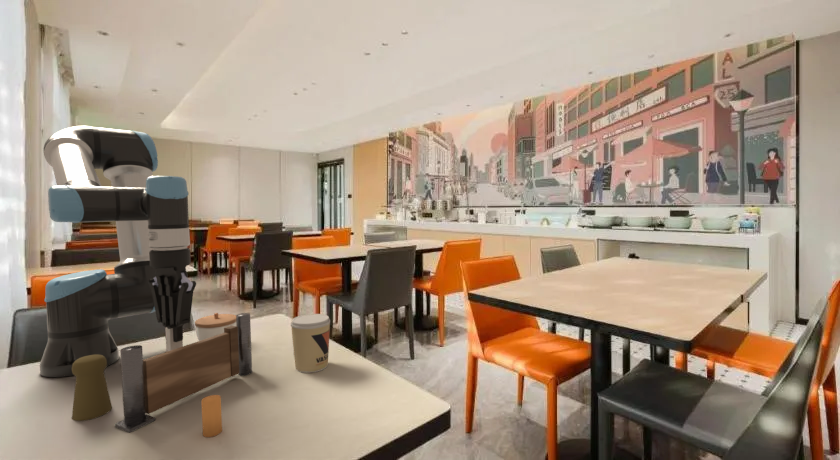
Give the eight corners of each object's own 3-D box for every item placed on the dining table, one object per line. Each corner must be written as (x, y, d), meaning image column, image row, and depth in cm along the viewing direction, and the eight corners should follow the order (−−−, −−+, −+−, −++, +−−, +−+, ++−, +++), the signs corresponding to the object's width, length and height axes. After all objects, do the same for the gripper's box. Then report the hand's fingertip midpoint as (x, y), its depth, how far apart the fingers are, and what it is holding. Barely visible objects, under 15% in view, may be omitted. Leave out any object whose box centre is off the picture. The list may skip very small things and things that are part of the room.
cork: (67, 424, 73) (63, 365, 73) (77, 409, 79) (73, 354, 78) (108, 415, 76) (105, 359, 75) (115, 402, 81) (112, 349, 81)
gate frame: (114, 427, 72) (110, 350, 71) (243, 368, 98) (241, 312, 97) (129, 432, 70) (125, 354, 69) (257, 371, 96) (255, 314, 95)
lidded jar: (212, 338, 121) (211, 307, 120) (245, 340, 119) (244, 308, 119) (187, 351, 110) (185, 317, 109) (223, 353, 108) (221, 319, 108)
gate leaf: (143, 412, 75) (140, 354, 75) (233, 371, 93) (231, 325, 93) (149, 414, 74) (146, 356, 74) (239, 373, 93) (237, 326, 92)
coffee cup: (321, 375, 93) (319, 324, 93) (284, 372, 95) (283, 323, 94) (337, 360, 102) (336, 314, 102) (303, 358, 104) (302, 312, 104)
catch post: (198, 434, 69) (197, 401, 69) (214, 426, 72) (212, 393, 72) (210, 438, 68) (209, 404, 68) (225, 429, 71) (224, 396, 70)
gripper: (133, 248, 86) (138, 356, 87) (172, 251, 80) (177, 366, 82) (168, 245, 93) (172, 345, 94) (206, 247, 87) (210, 353, 88)
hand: (175, 355), depth 88 cm, fingers closed
